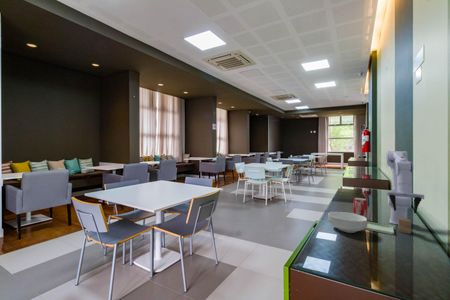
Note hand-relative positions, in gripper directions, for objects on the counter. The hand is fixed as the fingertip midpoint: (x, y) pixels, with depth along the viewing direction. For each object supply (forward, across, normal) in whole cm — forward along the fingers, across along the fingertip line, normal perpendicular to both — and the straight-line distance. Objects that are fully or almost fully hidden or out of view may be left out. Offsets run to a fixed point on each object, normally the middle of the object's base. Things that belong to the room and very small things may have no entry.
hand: (404, 212), depth 108 cm
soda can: (+7, -20, +12) cm, 24 cm away
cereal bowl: (+13, -24, -12) cm, 30 cm away
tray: (+10, -11, 0) cm, 15 cm away
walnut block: (+9, 0, +4) cm, 10 cm away
